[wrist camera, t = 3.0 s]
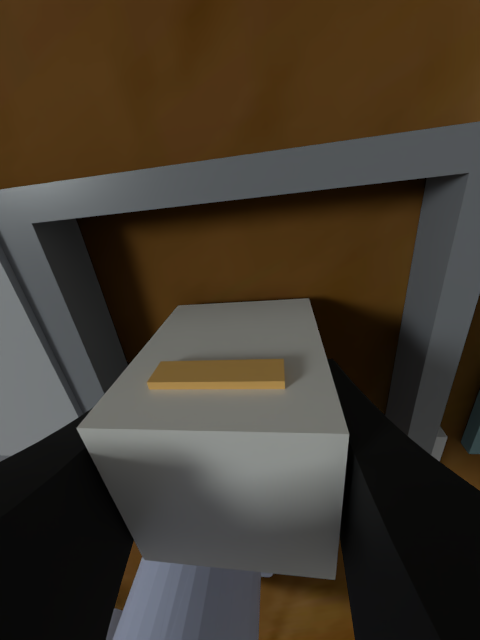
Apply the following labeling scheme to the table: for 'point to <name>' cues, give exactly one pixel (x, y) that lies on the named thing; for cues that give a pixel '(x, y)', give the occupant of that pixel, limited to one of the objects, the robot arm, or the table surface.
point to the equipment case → (215, 186)
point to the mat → (473, 430)
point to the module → (228, 441)
